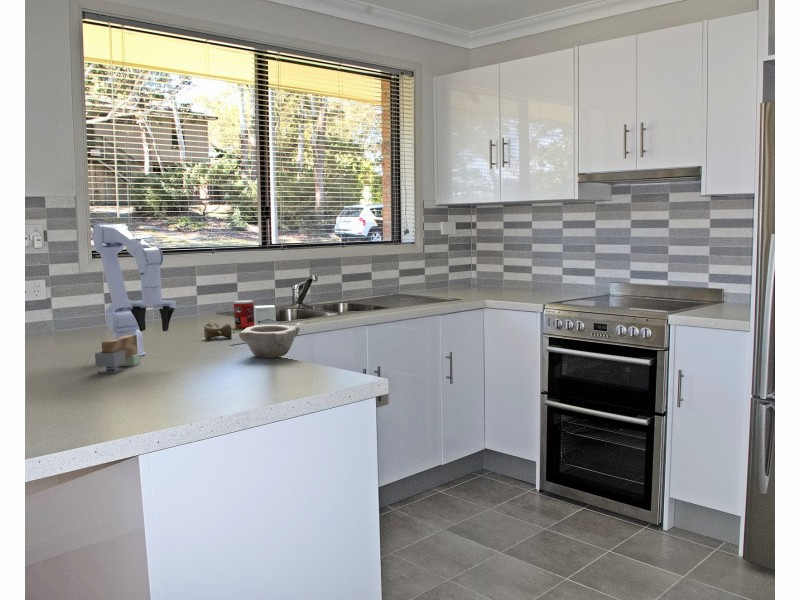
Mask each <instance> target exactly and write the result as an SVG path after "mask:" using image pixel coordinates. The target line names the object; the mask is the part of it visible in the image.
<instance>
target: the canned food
mask: <svg viewBox="0 0 800 600" xmlns="http://www.w3.org/2000/svg"><path fill="white" fill-rule="evenodd" d="M254 306H255V305H254V300H253V299H252V300H251V299H246V300H245V299H243V300H234V301H233V315H234V316H233V317H234V326H235V327H236V328H235V327H234V328H235V329H237V328H248V327H252V326H255V318H254Z"/></svg>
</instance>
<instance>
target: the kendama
mask: <svg viewBox="0 0 800 600" xmlns="http://www.w3.org/2000/svg"><path fill="white" fill-rule="evenodd" d="M232 332H233V331H232V327H231V324H230V323H229V322H228V323H225V324H224V325H222V326H220V327H219V325H218V324H217V323H216V322H208V323H207V324H206V325H205V326H204V327H203V334H204V339H205V340H206V341H210V340H211V339H213V338H217V337H224V338H226V339H231V338H232V335H233V334H232Z"/></svg>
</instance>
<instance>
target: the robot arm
mask: <svg viewBox="0 0 800 600" xmlns="http://www.w3.org/2000/svg"><path fill="white" fill-rule="evenodd" d="M129 231H130V230H129V227H128V226H127V225H126V224H125V223H120V224H118V223H117V224H99V223H97V224H95V225H94V226H93V229H92V233H91V238H92V241H93V244H94V245H93V246H94V248H95V252H96V253H98V254H99V255H100V258H101V262H102V268H103V271H104V275H105V278H106V283H107V287H108V291H109V295H110V300H111V303H110V304H109V305H108V306H107V308H106V309H105V316H106V317H105V321H106V326H107V328H108V330H110V332H112V334H113V335H112V337H113V338H112V339H115V338H118V337H122V336H125V335H137V349H138V354H140V357H141V356H144V355H147V352H144V341H143V339H144V338H143V334H142V332H145V331H146V312H147V308H159V309H158V311H159V314H160V319H161V327H162V332H168V331H169V325H170V322H171V318H172V315H173V313H174V311H175V308H176V306H177V303H176V302H177V301H176V300H165V299H164V300H163V296H162V295H163V294H162V282H161V280H162V279H161V268H160V267H161V266H162V264H163V262H164V254H163V250H162V249H161V248H160V247H159V246H156V247H152V246H151V245H150V244H149V243H147V242H146V241H144V240H143V238H142V237H141V236H138V237H137V236H136V237H134V236H133V234H131V233H130V232H129ZM124 248H125V250H126V251H127V253H128V254H129V255H131V256H132V257H134V259H135V263H136V265H137V269H138V273H140V283H141V285H140V287H141V300H130V299H129V296H128V293H127V289H126V284H125V280H124V277H123V273H122V268H121V265H120V261H119V258H118V257H119V256H118V254H119V253H120V252H122V251H123V250H124Z"/></svg>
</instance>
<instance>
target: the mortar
mask: <svg viewBox="0 0 800 600" xmlns="http://www.w3.org/2000/svg"><path fill="white" fill-rule="evenodd" d="M300 330H301V328H300V327H299V326H297V325H287V324H286V325H285V324H276V325H255V324H254V326H252V327H248V328H245V329H242V331H240V332H239V333H238V337H239V339H240V340H241V341H242V342H244V343H246V344H247V346H248V348H249V350H250V351H251V353H252V354H253V356H255V357H257V358H263V359H273V358H280V357H283V356H285V355H287V354H288V352H289V351H290V350H291V347H292V346H293V343H294V341H295V338H296V337H297V336H298V334H299V332H300Z"/></svg>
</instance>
